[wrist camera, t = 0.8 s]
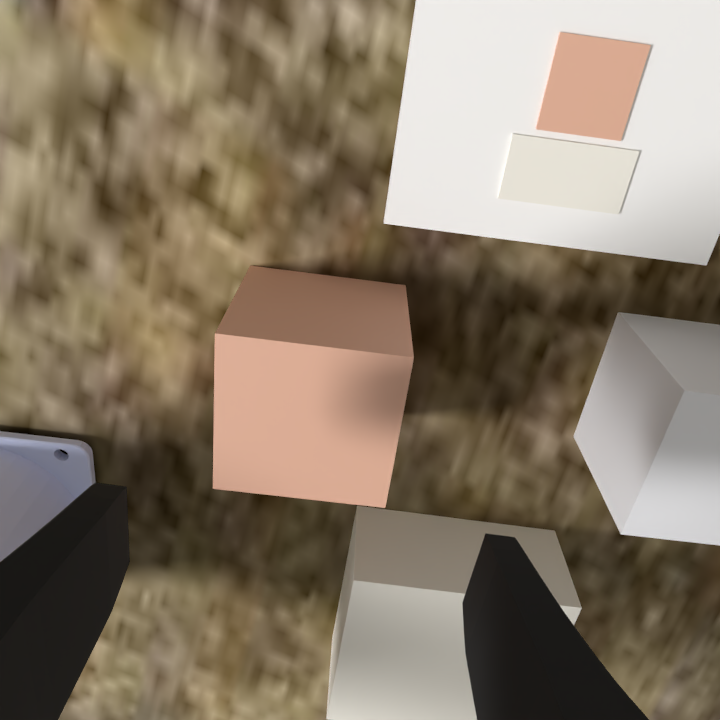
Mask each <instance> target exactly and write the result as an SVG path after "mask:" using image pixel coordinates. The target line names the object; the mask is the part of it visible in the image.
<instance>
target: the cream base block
mask: <svg viewBox="0 0 720 720" xmlns="http://www.w3.org/2000/svg"><path fill="white" fill-rule="evenodd" d="M485 533H487V534H494V535H502V536H510V537H515V538H516V539H517V541H518V542H519V544H520V545H521V547H522V548H523V550H524V551H525V553H526V555H527V556H528V558H529V559H530V561H531V562H532V564H533V565H534V567H535V569H536V570H537V572H538V573H539V575H540V576H541V578H542V579H543V581H544V582H545V584H546V586H547V587H548V589H549V590H550V592H551V593H552V595H553V596H554V598H555V599H556V601H557V602H558V604H559V605H560V607H561V608H562V609H563V611H564V612H565V614H566V615H567V617H568V618H569V619H570V621H571V622H572V624H573V625H574V624H575V622H576V620H577V618H578V615H579V613H580V611H581V609H582V607H581V604H580V601H579V598H578V596H577V593H576V590H575V587H574V584H573V581H572V578H571V576H570V573H569V570H568V567H567V564H566V561H565V558H564V556H563V553H562V550H561V547H560V544H559V541H558V538H557V536H556V533H555V531H554V530H546V529H538V528H530V527H522V526H514V525H506V524H498V523H490V522H482V521H474V520H466V519H458V518H451V517H443V516H435V515H427V514H419V513H411V512H403V511H395V510H387V509H379V508H371V507H363V506H357V508H356V513H355V519H354V524H353V529H352V535H351V540H350V546H349V551H348V556H347V562H346V567H345V573H344V578H343V583H342V589H341V594H340V600H339V605H338V610H337V616H336V621H335V627H334V632H333V637H332V649H331V663H330V676H329V690H328V704H327V717H326V719H331V720H477V716H476V711H475V705H474V700H473V694H472V689H471V683H470V677H469V671H468V666H467V660H466V654H465V640H464V625H463V605H462V602H463V599H464V596H465V593H466V590H467V587H468V584H469V581H470V578H471V575H472V572H473V569H474V566H475V563H476V560H477V557H478V554H479V551H480V548H481V545H482V542H483V539H484V536H485Z"/></svg>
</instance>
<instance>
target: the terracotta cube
mask: <svg viewBox="0 0 720 720" xmlns="http://www.w3.org/2000/svg"><path fill="white" fill-rule="evenodd" d="M413 360H414V353H413V345H412V336H411V327H410V319H409V310H408V301H407V293H406V285H400V284H392V283H384V282H377V281H369V280H361V279H353V278H345V277H337V276H329V275H321V274H313V273H305V272H297V271H289V270H282V269H274V268H266V267H258V266H250V267H249V269H248V271H247V273H246V275H245V277H244V279H243V281H242V282H241V284H240V286H239V288H238V290H237V292H236V294H235V296H234V298H233V300H232V302H231V304H230V305H229V307H228V309H227V311H226V313H225V315H224V317H223V319H222V321H221V323H220V325H219V327H218V329H217V330H216V332H215V366H214V436H213V489H219V490H228V491H237V492H246V493H255V494H264V495H273V496H282V497H291V498H300V499H309V500H318V501H327V502H336V503H345V504H354V505H363V506H372V507H381V508H385V507H386V502H387V497H388V492H389V486H390V481H391V476H392V471H393V465H394V460H395V455H396V450H397V444H398V439H399V434H400V428H401V423H402V418H403V413H404V407H405V402H406V397H407V392H408V386H409V381H410V376H411V371H412V365H413Z"/></svg>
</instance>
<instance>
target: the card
mask: <svg viewBox="0 0 720 720" xmlns="http://www.w3.org/2000/svg"><path fill="white" fill-rule="evenodd" d="M384 224H391V225H399V226H407V227H414V228H422V229H430V230H437V231H445V232H453V233H460V234H468V235H476V236H483V237H491V238H499V239H506V240H514V241H522V242H530V243H537V244H545V245H553V246H560V247H568V248H576V249H583V250H591V251H599V252H606V253H614V254H622V255H630V256H637V257H645V258H653V259H660V260H668V261H676V262H683V263H691V264H699V265H706V266H707V263H708V261H709V258H710V256H711V253H712V251H713V249H714V246H715V244H716V241H717V239H718V237H719V234H720V0H416V3H415V10H414V16H413V23H412V30H411V37H410V44H409V51H408V58H407V64H406V71H405V78H404V85H403V92H402V99H401V106H400V112H399V119H398V126H397V133H396V140H395V147H394V154H393V160H392V167H391V174H390V181H389V188H388V195H387V202H386V208H385V215H384Z"/></svg>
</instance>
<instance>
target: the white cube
mask: <svg viewBox="0 0 720 720" xmlns="http://www.w3.org/2000/svg"><path fill="white" fill-rule="evenodd" d="M574 438H575V440H576V442H577V444H578V447H579V449H580V451H581V453H582V455H583V457H584V459H585V461H586V463H587V465H588V467H589V469H590V472H591V474H592V476H593V478H594V480H595V482H596V484H597V486H598V488H599V490H600V492H601V494H602V496H603V499H604V501H605V503H606V505H607V507H608V509H609V511H610V513H611V515H612V517H613V519H614V521H615V523H616V526H617V528H618V530H619V532H620V534H622V535H631V536H640V537H649V538H658V539H667V540H676V541H685V542H694V543H703V544H712V545H720V325H717V324H709V323H701V322H693V321H686V320H678V319H670V318H662V317H654V316H646V315H638V314H630V313H622V312H618V313H617V316H616V319H615V322H614V325H613V327H612V330H611V333H610V336H609V339H608V341H607V344H606V347H605V350H604V353H603V355H602V358H601V361H600V364H599V367H598V369H597V372H596V375H595V378H594V381H593V383H592V386H591V389H590V392H589V395H588V397H587V400H586V403H585V406H584V409H583V412H582V414H581V417H580V420H579V423H578V426H577V428H576V431H575V434H574Z"/></svg>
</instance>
